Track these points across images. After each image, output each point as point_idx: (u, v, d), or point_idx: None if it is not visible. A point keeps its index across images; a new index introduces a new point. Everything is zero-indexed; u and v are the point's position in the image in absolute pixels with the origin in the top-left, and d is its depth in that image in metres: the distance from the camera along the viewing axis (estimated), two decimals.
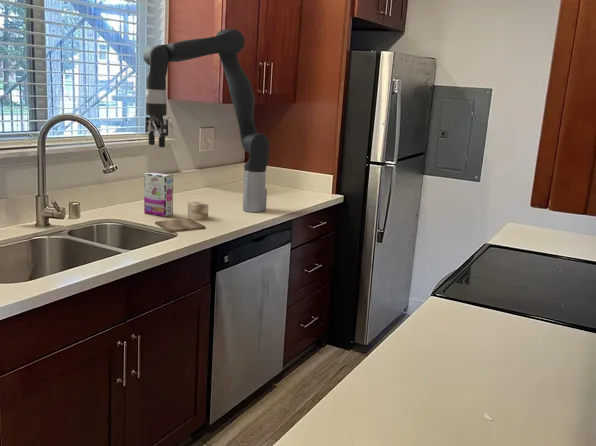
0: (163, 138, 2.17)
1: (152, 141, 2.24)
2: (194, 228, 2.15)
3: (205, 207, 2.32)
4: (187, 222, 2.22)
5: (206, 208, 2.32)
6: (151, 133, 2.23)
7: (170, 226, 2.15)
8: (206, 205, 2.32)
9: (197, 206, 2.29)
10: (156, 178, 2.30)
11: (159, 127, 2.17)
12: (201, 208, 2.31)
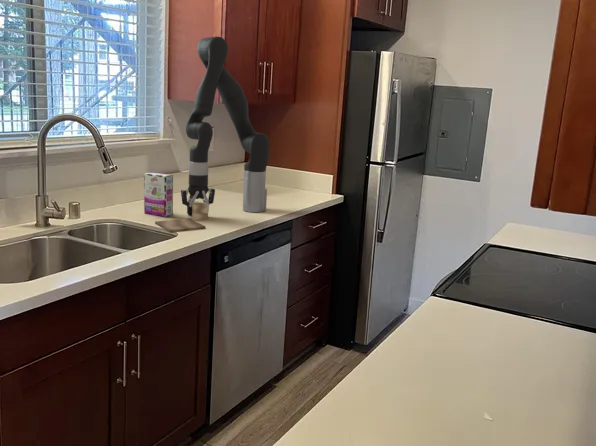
0: None
1: None
2: (194, 228, 2.15)
3: (205, 207, 2.32)
4: (187, 222, 2.22)
5: (206, 208, 2.32)
6: None
7: (170, 226, 2.15)
8: (206, 205, 2.32)
9: (197, 206, 2.29)
10: (156, 178, 2.30)
11: None
12: (201, 208, 2.31)
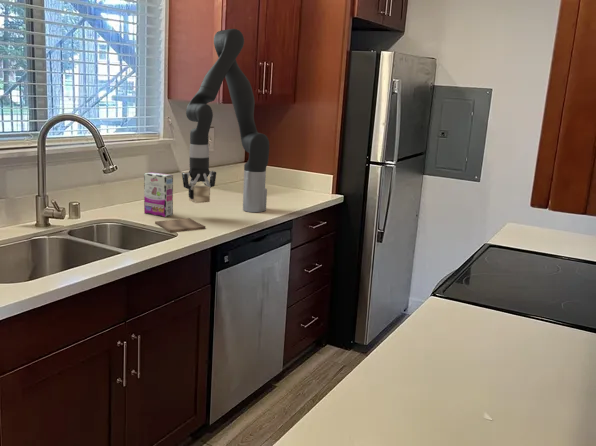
0: None
1: None
2: (194, 228, 2.15)
3: (207, 190, 2.30)
4: (187, 222, 2.22)
5: (207, 191, 2.30)
6: None
7: (170, 226, 2.15)
8: (207, 188, 2.30)
9: (199, 189, 2.28)
10: (156, 178, 2.30)
11: None
12: (202, 191, 2.29)
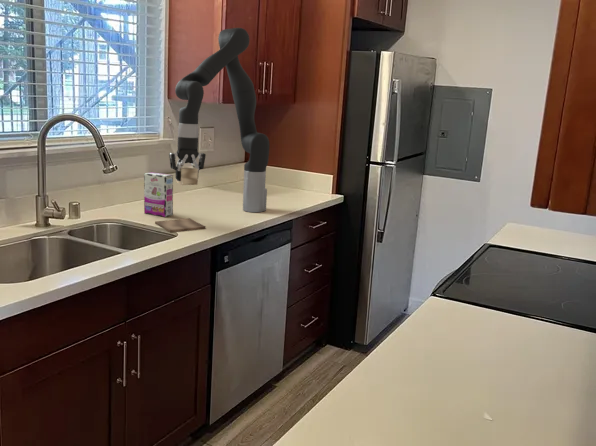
0: None
1: None
2: (194, 228, 2.15)
3: (195, 172, 2.20)
4: (187, 222, 2.22)
5: (195, 173, 2.20)
6: None
7: (170, 226, 2.15)
8: (195, 170, 2.20)
9: (186, 170, 2.18)
10: (156, 178, 2.30)
11: None
12: (190, 173, 2.19)
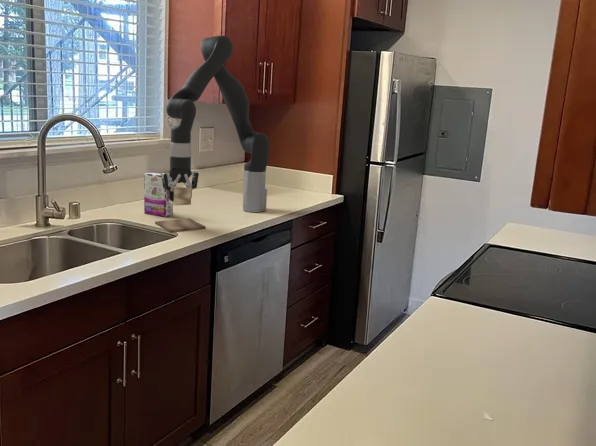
0: None
1: None
2: (194, 228, 2.15)
3: (188, 192, 2.15)
4: (187, 222, 2.22)
5: (189, 193, 2.15)
6: None
7: (170, 226, 2.15)
8: (189, 189, 2.15)
9: (179, 190, 2.13)
10: (156, 178, 2.30)
11: None
12: (183, 193, 2.14)
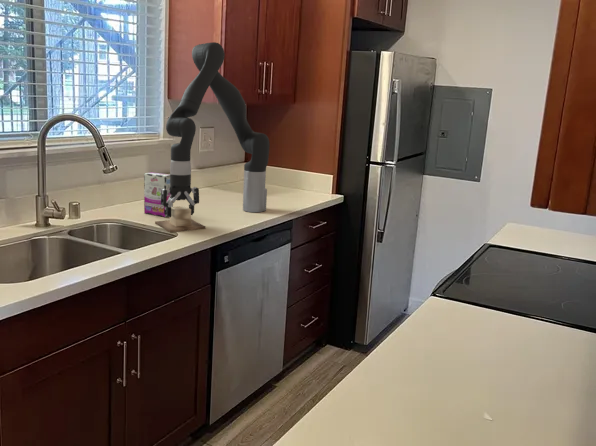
0: None
1: None
2: (194, 228, 2.15)
3: (188, 213, 2.17)
4: None
5: (189, 213, 2.17)
6: None
7: (170, 226, 2.15)
8: (189, 210, 2.17)
9: (179, 211, 2.15)
10: (156, 178, 2.30)
11: None
12: (183, 213, 2.16)
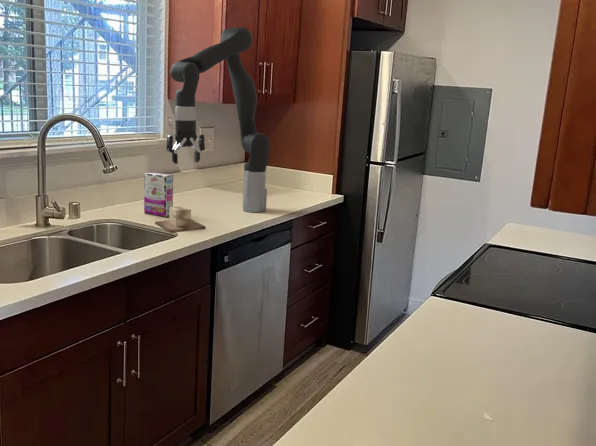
0: None
1: None
2: (194, 228, 2.15)
3: (188, 213, 2.17)
4: None
5: (189, 213, 2.17)
6: None
7: (170, 226, 2.15)
8: (189, 210, 2.17)
9: (179, 211, 2.15)
10: (156, 178, 2.30)
11: None
12: (183, 213, 2.16)
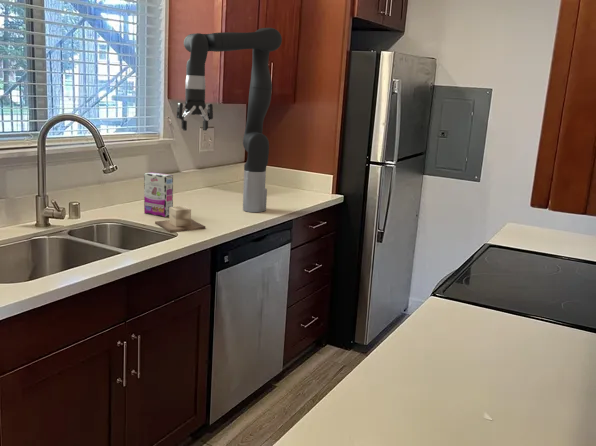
0: None
1: None
2: (194, 228, 2.15)
3: (188, 213, 2.17)
4: None
5: (189, 213, 2.17)
6: None
7: (170, 226, 2.15)
8: (189, 210, 2.17)
9: (179, 211, 2.15)
10: (156, 178, 2.30)
11: None
12: (183, 213, 2.16)
